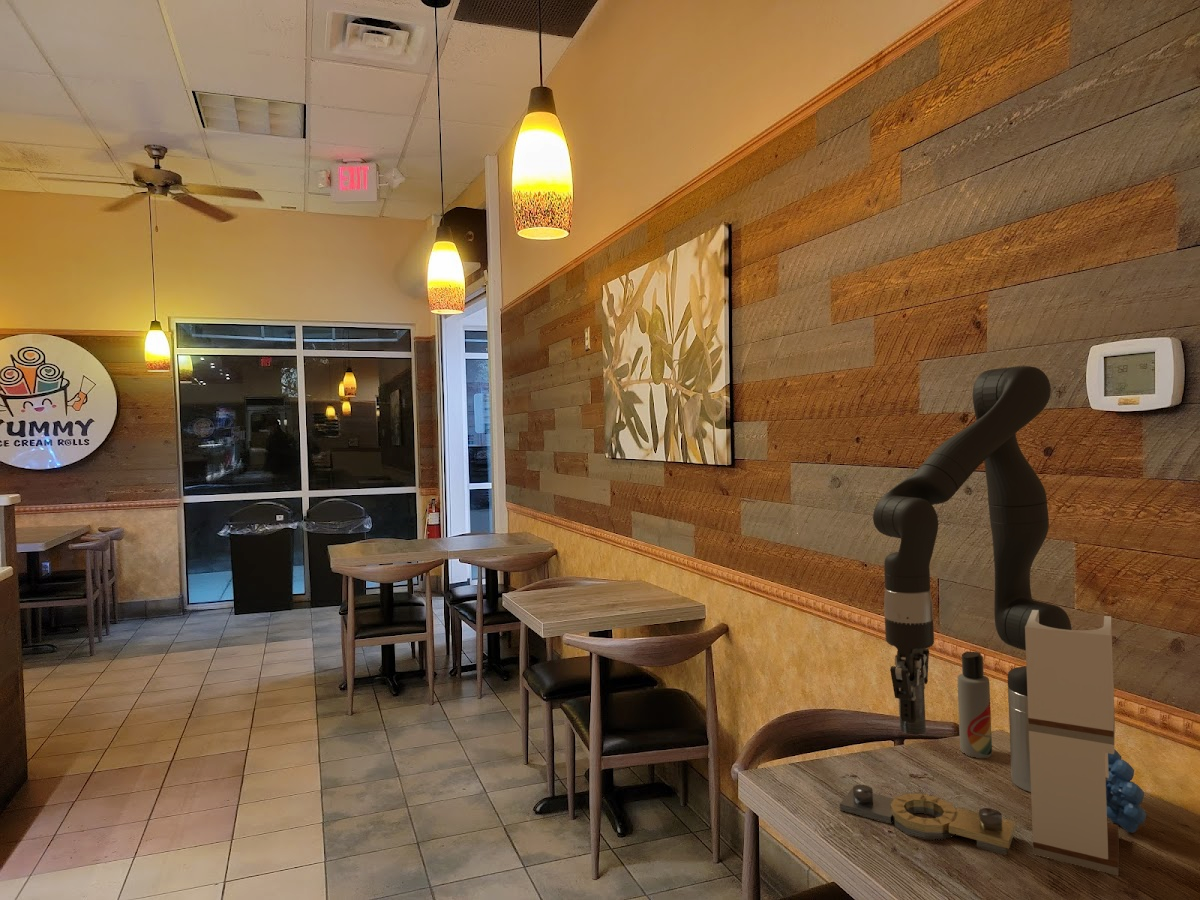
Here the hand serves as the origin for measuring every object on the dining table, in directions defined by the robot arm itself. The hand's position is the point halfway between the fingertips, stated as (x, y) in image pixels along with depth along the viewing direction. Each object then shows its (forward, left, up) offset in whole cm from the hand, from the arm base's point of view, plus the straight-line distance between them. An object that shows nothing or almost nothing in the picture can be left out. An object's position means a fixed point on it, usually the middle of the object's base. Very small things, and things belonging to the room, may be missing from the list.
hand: (912, 716), depth 125 cm
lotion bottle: (-31, +4, -17) cm, 36 cm away
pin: (0, 0, -2) cm, 2 cm away
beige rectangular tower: (-4, +23, -18) cm, 29 cm away
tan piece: (+1, +2, -17) cm, 17 cm away
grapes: (-14, +27, -18) cm, 35 cm away
